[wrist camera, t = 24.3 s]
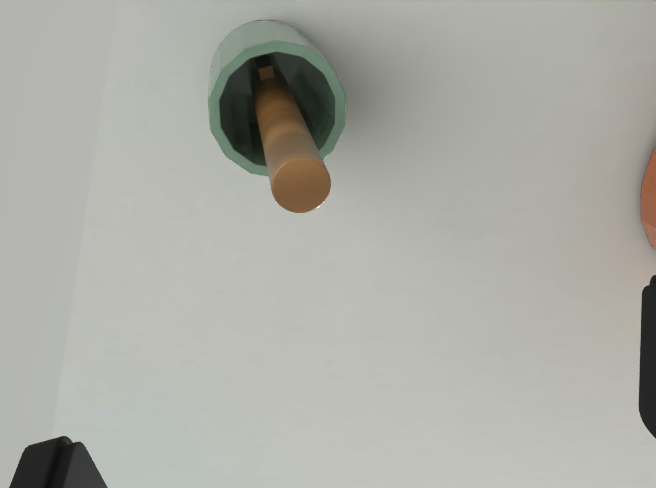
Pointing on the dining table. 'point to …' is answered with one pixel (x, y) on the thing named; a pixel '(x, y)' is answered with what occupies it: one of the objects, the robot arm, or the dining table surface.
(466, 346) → the dining table surface
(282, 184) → the wooden dowel rod
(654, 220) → the bowl
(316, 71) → the crock
